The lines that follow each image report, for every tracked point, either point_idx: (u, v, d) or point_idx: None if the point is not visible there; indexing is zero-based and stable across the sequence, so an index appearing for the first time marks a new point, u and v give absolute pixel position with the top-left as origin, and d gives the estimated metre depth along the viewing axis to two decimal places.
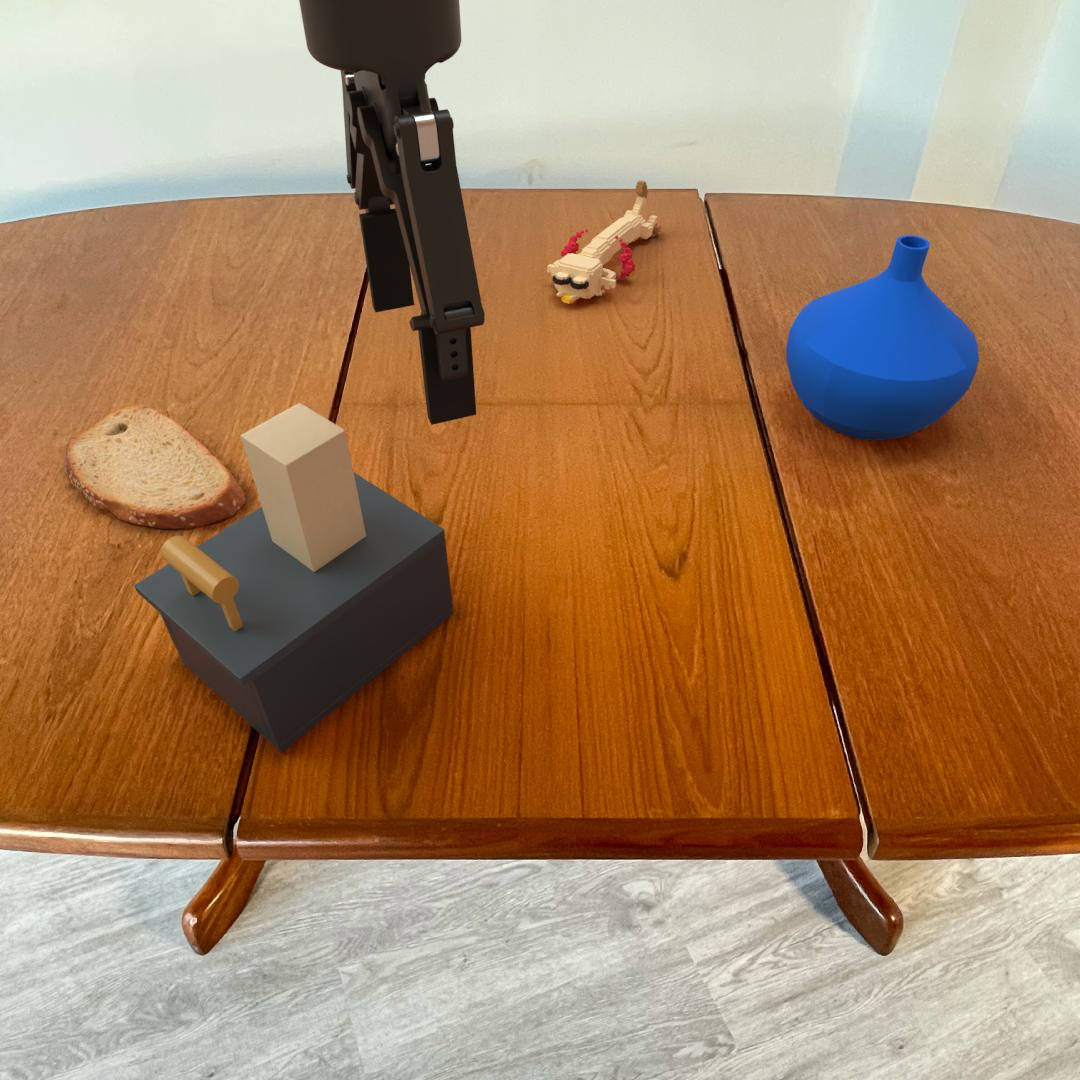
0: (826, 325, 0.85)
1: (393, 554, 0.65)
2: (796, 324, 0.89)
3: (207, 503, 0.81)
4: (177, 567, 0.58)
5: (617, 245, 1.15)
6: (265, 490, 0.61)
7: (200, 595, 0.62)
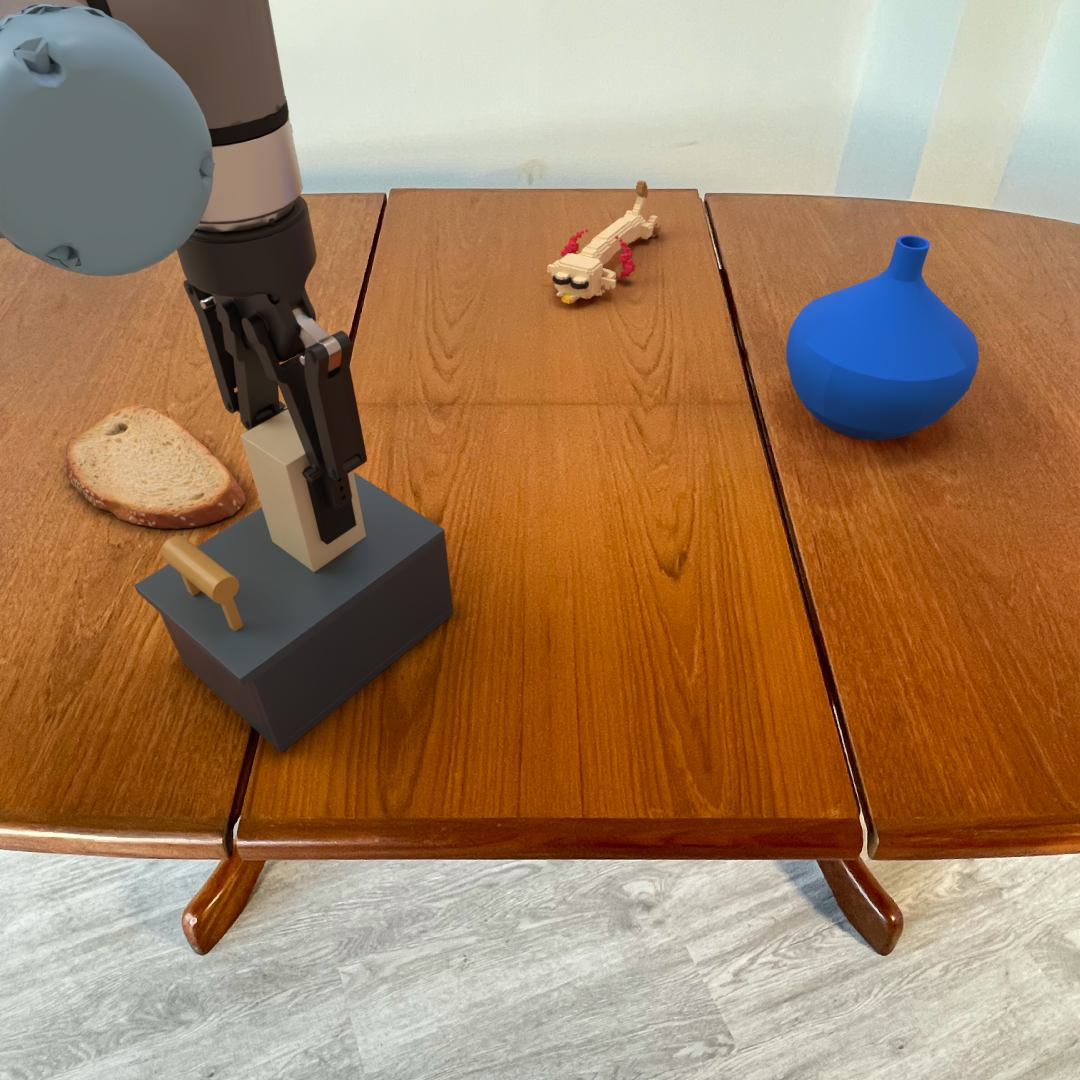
0: (826, 325, 0.85)
1: (393, 554, 0.65)
2: (796, 324, 0.89)
3: (206, 503, 0.81)
4: (177, 567, 0.58)
5: (617, 245, 1.15)
6: (265, 490, 0.61)
7: (200, 595, 0.62)
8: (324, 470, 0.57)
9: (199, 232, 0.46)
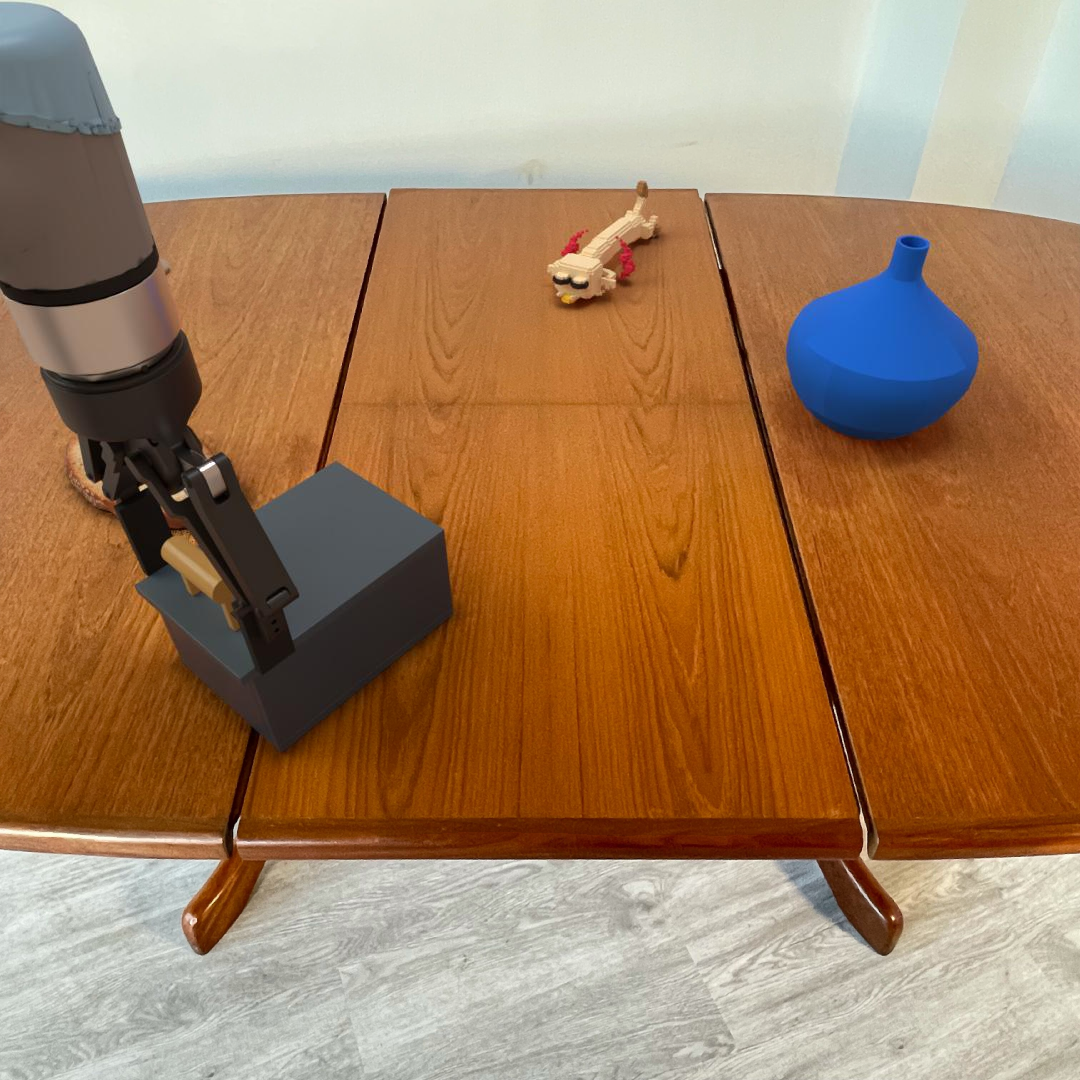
0: (826, 325, 0.85)
1: (393, 554, 0.65)
2: (796, 324, 0.89)
3: None
4: (177, 567, 0.58)
5: (617, 245, 1.15)
6: None
7: (200, 594, 0.62)
8: (250, 604, 0.52)
9: (67, 382, 0.45)
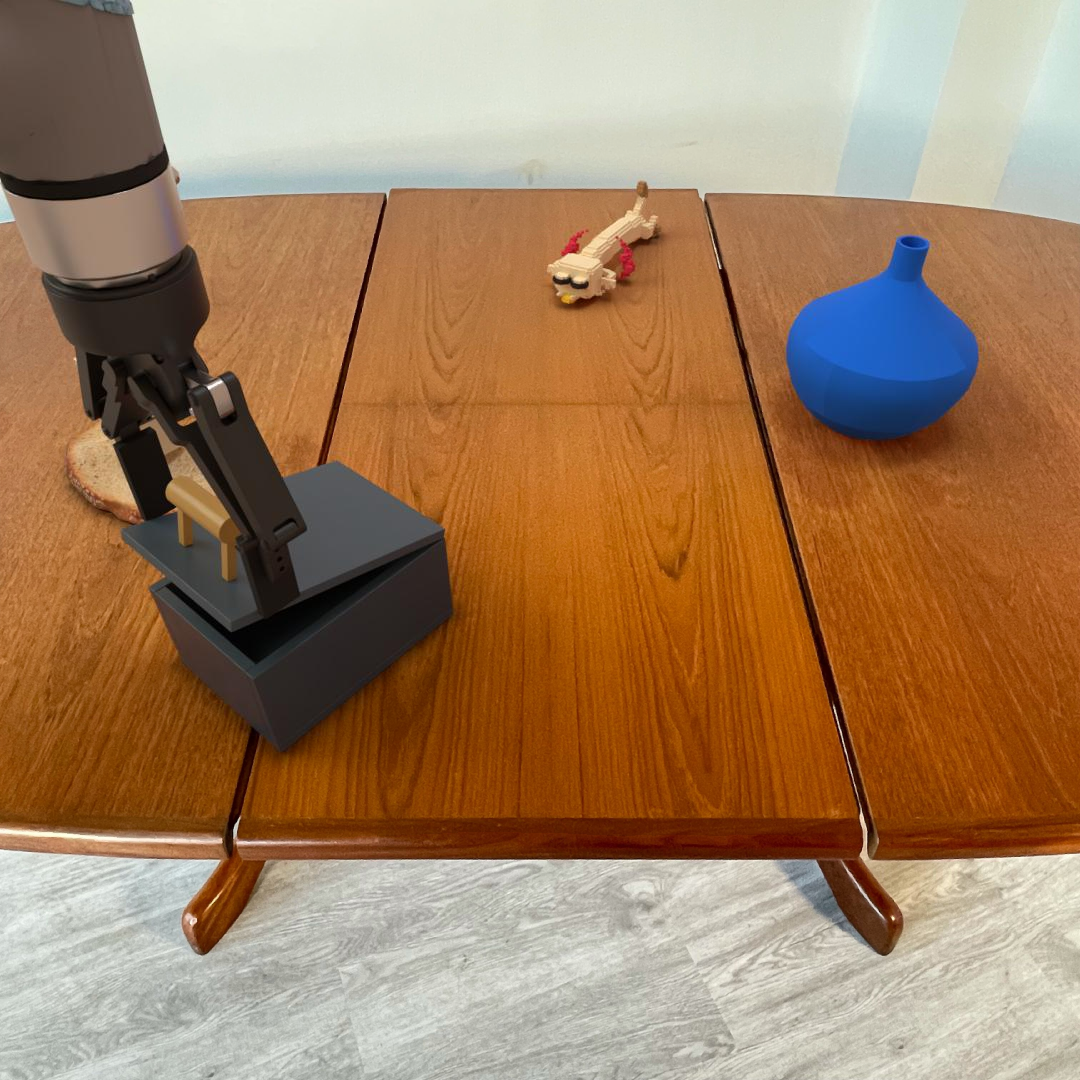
0: (826, 325, 0.85)
1: (394, 541, 0.64)
2: (796, 324, 0.89)
3: None
4: (182, 503, 0.56)
5: (617, 245, 1.15)
6: None
7: (192, 546, 0.60)
8: (256, 537, 0.50)
9: (70, 289, 0.42)
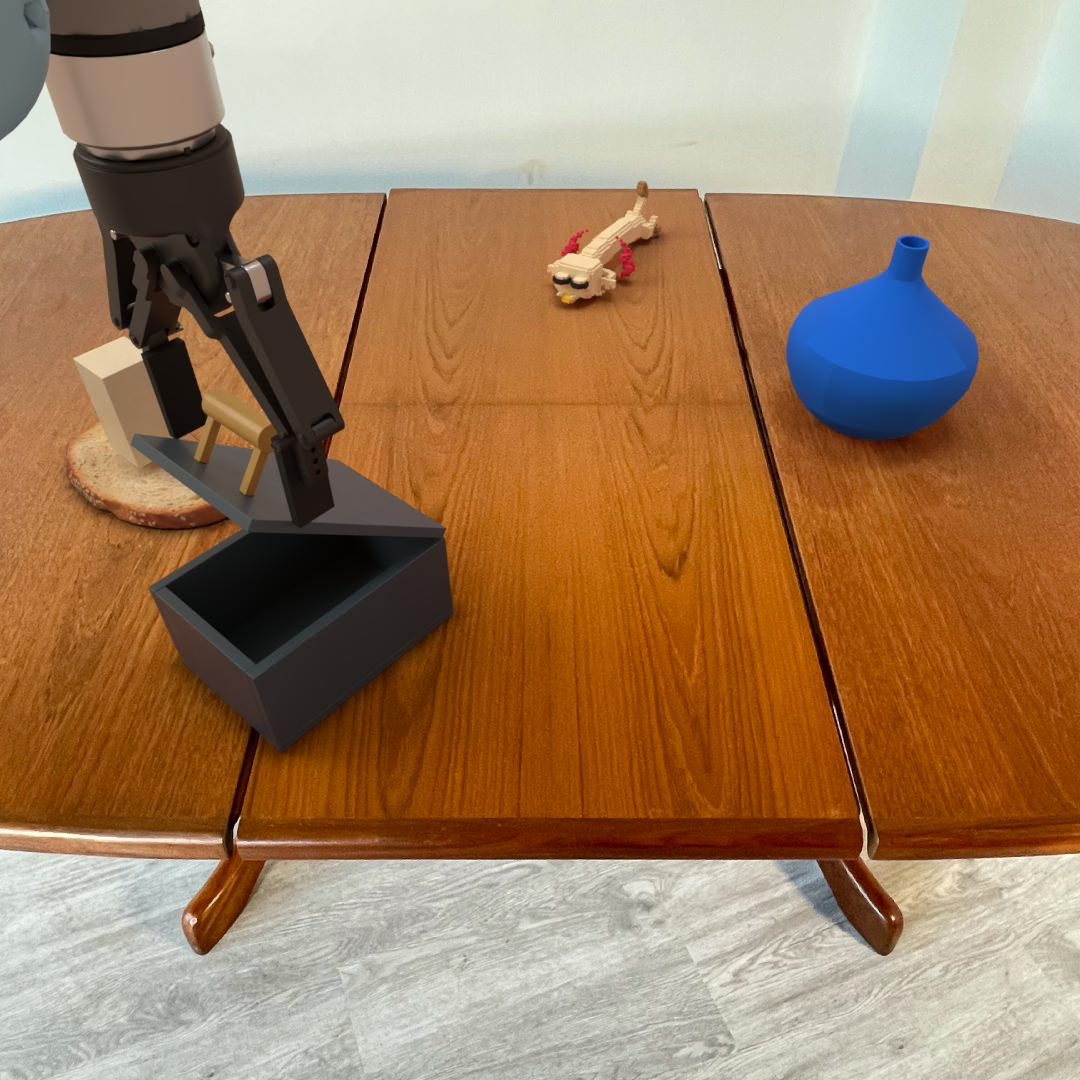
0: (826, 325, 0.85)
1: (401, 520, 0.64)
2: (796, 324, 0.89)
3: (207, 503, 0.81)
4: (222, 408, 0.55)
5: (617, 245, 1.15)
6: (96, 403, 0.80)
7: (207, 464, 0.57)
8: (293, 434, 0.48)
9: (103, 161, 0.41)
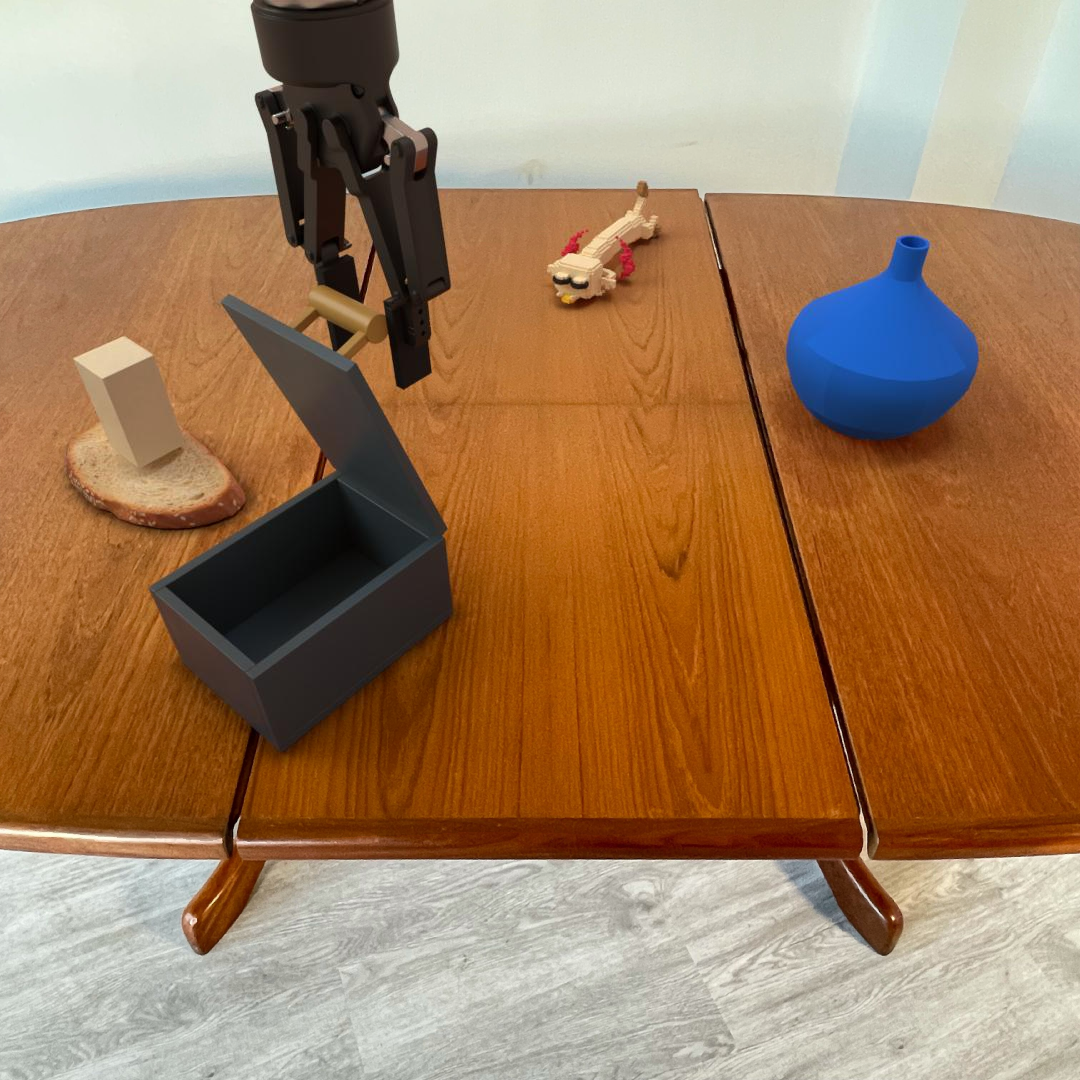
0: (826, 325, 0.85)
1: None
2: (796, 324, 0.89)
3: (207, 503, 0.81)
4: (335, 296, 0.58)
5: (617, 245, 1.15)
6: (97, 403, 0.80)
7: None
8: (406, 297, 0.55)
9: (285, 10, 0.44)
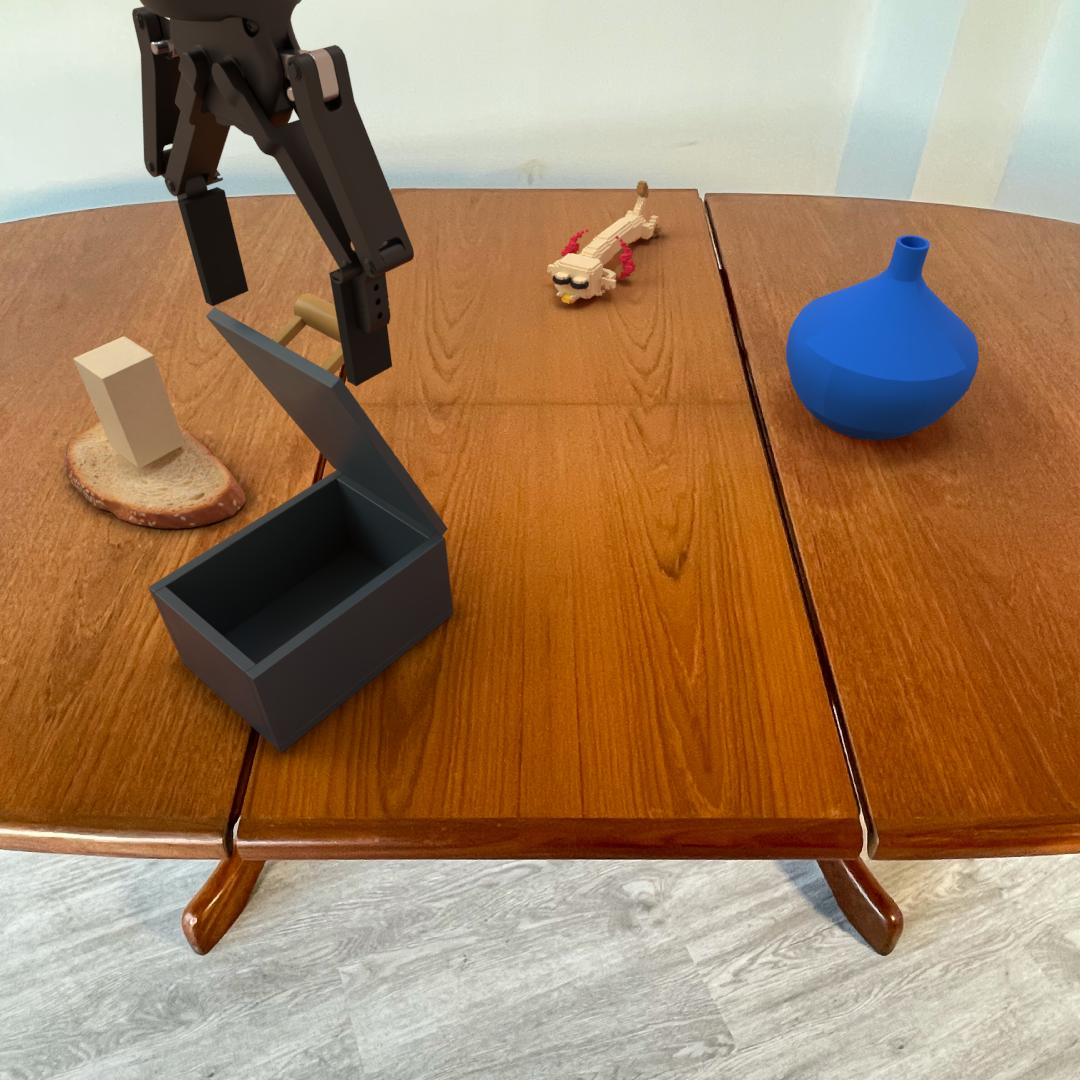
0: (826, 325, 0.85)
1: None
2: (796, 324, 0.89)
3: (207, 503, 0.81)
4: (320, 304, 0.57)
5: (617, 245, 1.15)
6: (97, 403, 0.80)
7: None
8: (356, 264, 0.43)
9: None
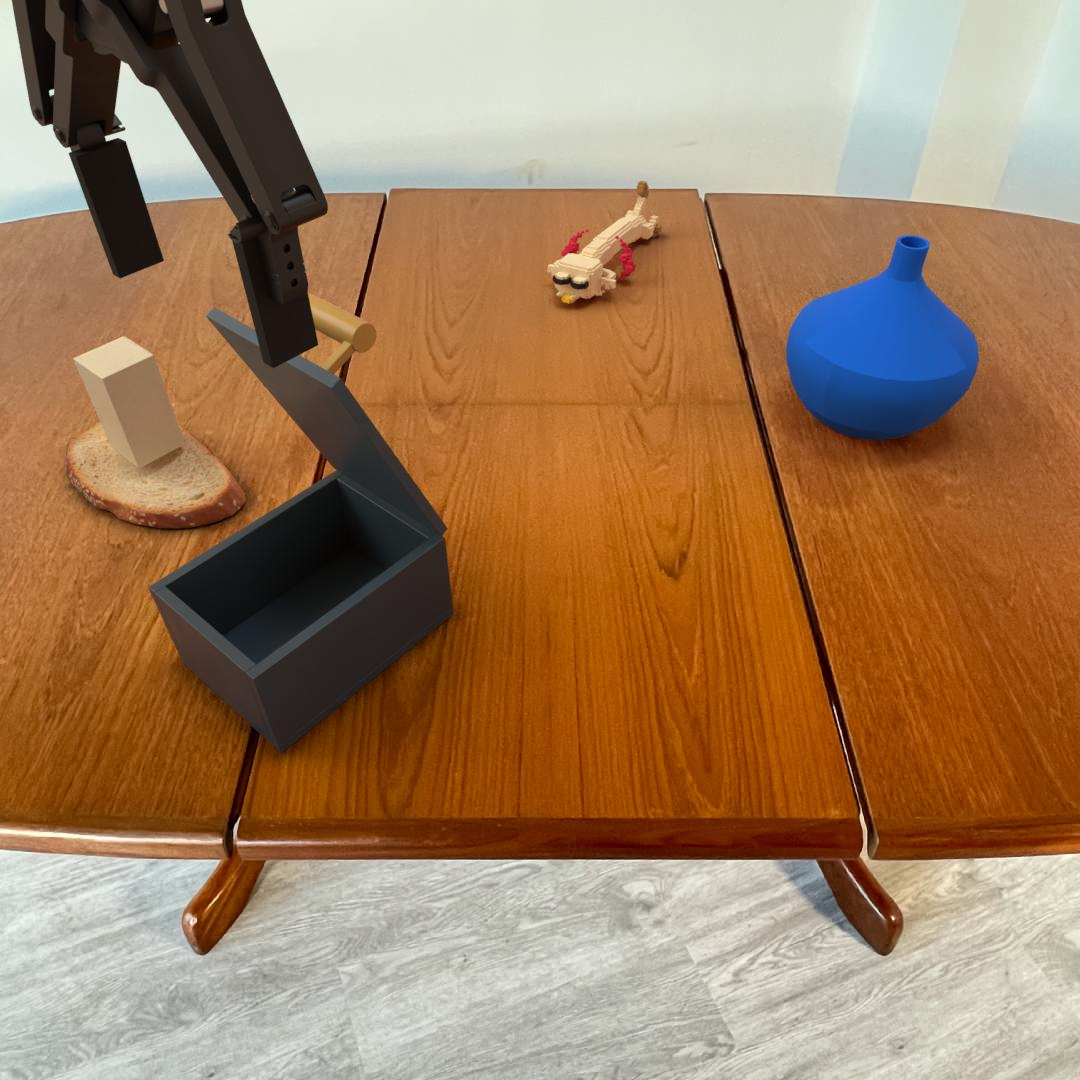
0: (826, 325, 0.85)
1: None
2: (796, 324, 0.89)
3: (207, 503, 0.81)
4: (320, 304, 0.57)
5: (617, 245, 1.15)
6: (97, 403, 0.80)
7: None
8: (258, 218, 0.36)
9: None
